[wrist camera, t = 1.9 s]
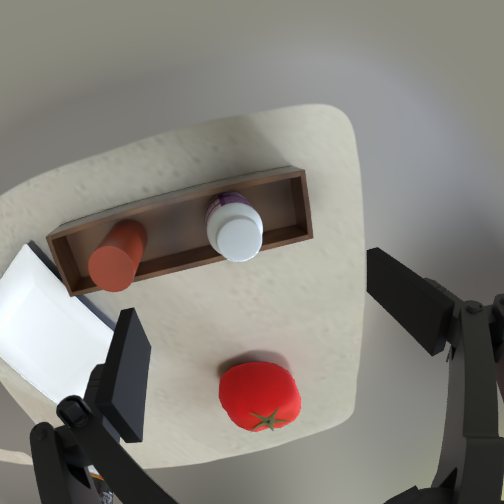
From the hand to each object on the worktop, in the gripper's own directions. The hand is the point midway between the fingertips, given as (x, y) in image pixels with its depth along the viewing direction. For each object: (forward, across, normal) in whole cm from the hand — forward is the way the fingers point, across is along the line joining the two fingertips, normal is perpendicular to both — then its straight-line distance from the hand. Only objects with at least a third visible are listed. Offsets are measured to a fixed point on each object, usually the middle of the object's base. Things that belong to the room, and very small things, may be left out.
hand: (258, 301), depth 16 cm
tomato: (+21, -1, -27) cm, 34 cm away
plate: (+21, -30, -12) cm, 39 cm away
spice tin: (+20, -12, 0) cm, 23 cm away
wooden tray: (+21, -5, 0) cm, 21 cm away
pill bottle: (+20, +1, 0) cm, 21 cm away
